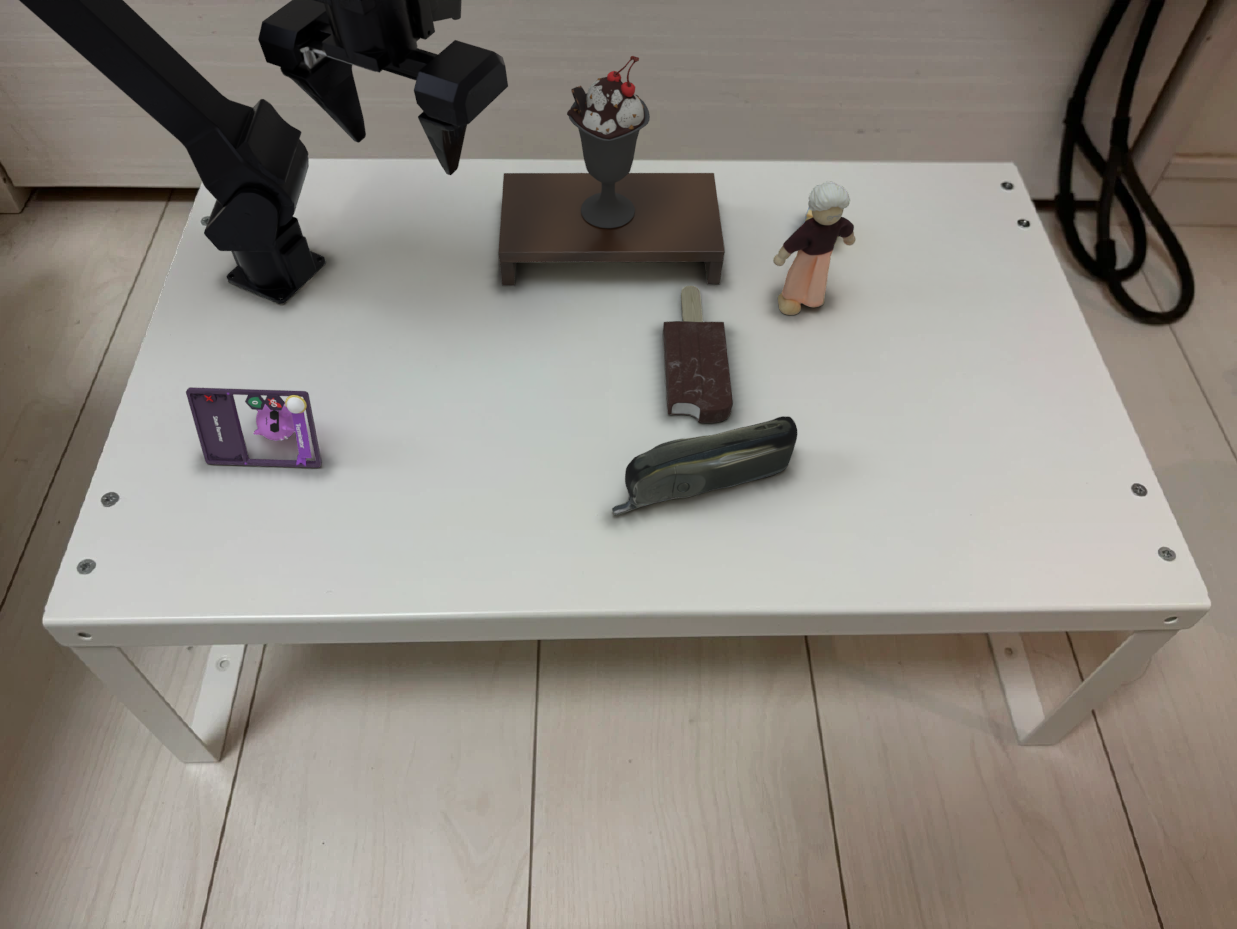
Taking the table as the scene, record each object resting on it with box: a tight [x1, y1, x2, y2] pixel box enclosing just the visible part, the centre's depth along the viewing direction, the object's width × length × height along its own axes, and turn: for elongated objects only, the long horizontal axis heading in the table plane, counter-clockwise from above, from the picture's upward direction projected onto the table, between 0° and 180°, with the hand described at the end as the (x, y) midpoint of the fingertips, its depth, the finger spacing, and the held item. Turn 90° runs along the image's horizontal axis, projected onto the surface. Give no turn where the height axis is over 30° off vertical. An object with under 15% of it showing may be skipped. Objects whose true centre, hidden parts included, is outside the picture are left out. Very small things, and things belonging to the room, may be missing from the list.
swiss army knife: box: [611, 415, 798, 516], centre depth 70 cm, size 5×3×15 cm
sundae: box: [566, 55, 651, 228], centre depth 79 cm, size 7×7×15 cm
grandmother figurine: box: [772, 180, 857, 316], centre depth 79 cm, size 8×4×13 cm, turn 123°
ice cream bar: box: [662, 285, 734, 424], centre depth 80 cm, size 5×2×15 cm
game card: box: [185, 387, 323, 468], centre depth 72 cm, size 7×5×9 cm
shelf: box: [497, 172, 726, 287], centre depth 87 cm, size 20×11×4 cm, turn 92°
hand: (405, 155), depth 75 cm, fingers open, 9 cm apart
